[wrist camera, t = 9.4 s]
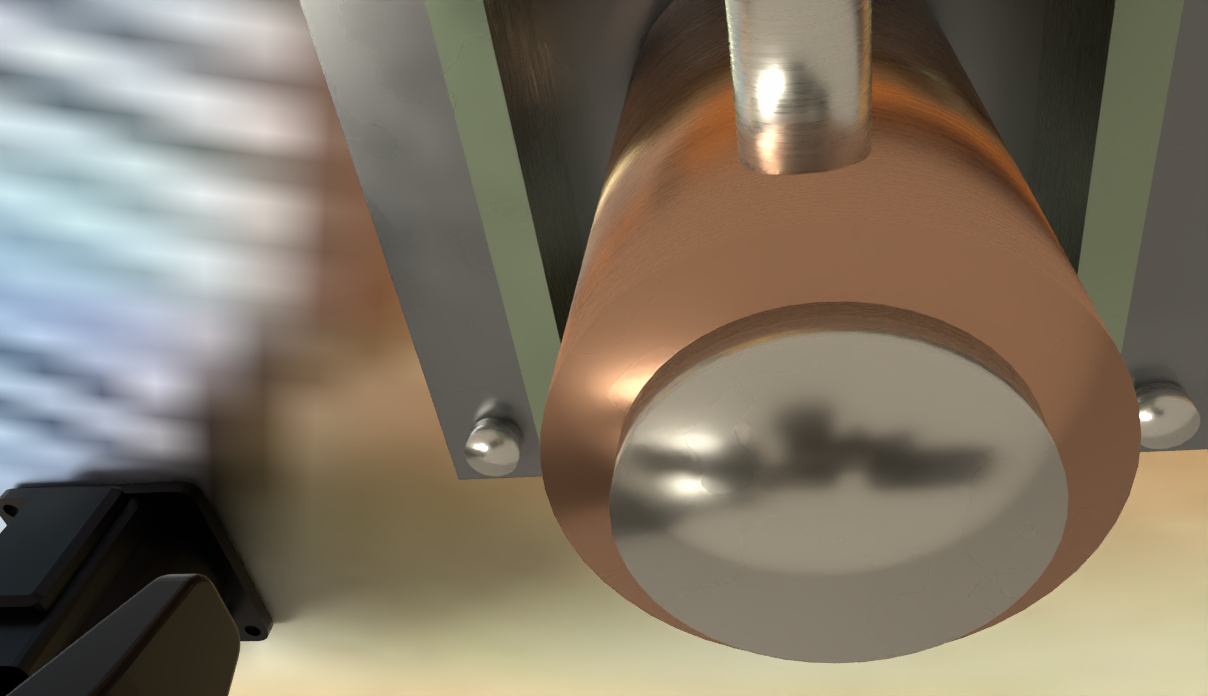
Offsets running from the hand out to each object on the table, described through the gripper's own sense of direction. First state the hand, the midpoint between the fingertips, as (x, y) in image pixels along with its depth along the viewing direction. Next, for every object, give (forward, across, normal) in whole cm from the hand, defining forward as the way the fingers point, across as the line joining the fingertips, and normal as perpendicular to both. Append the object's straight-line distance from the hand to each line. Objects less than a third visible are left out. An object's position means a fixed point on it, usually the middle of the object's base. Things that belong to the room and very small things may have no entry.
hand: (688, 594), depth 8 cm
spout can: (+10, -1, 0) cm, 10 cm away
